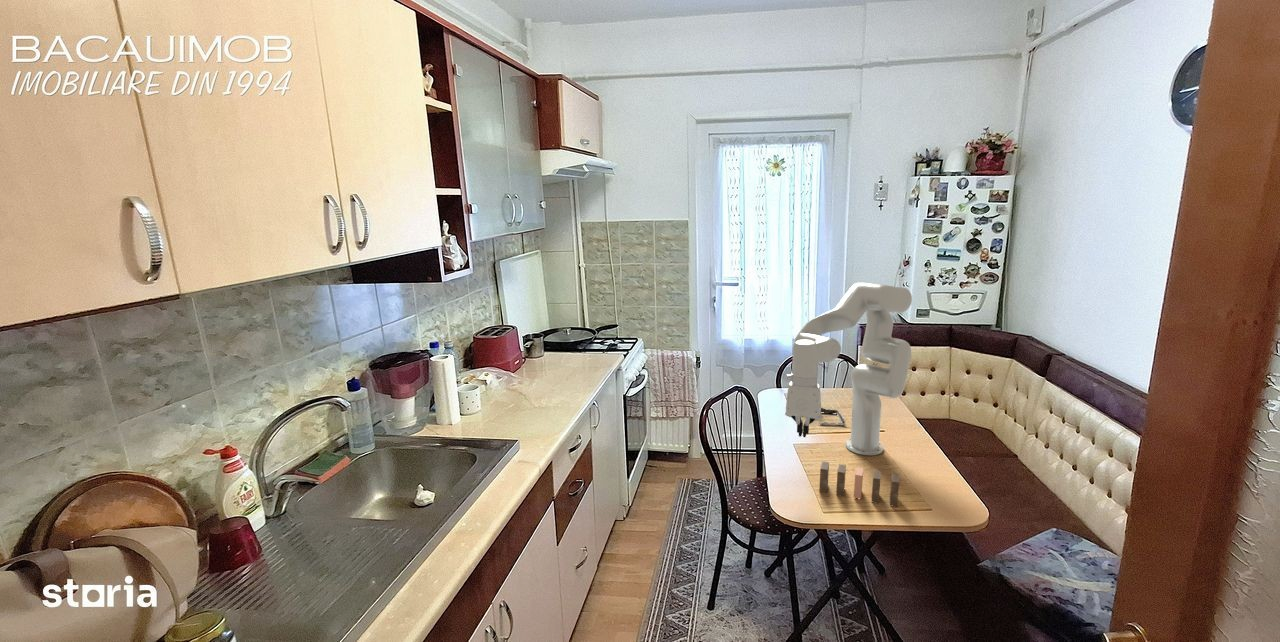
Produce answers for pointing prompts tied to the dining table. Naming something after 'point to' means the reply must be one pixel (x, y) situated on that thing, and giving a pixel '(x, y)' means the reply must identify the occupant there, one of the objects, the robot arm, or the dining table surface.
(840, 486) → the domino
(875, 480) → the domino
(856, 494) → the domino
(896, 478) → the domino
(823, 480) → the domino
